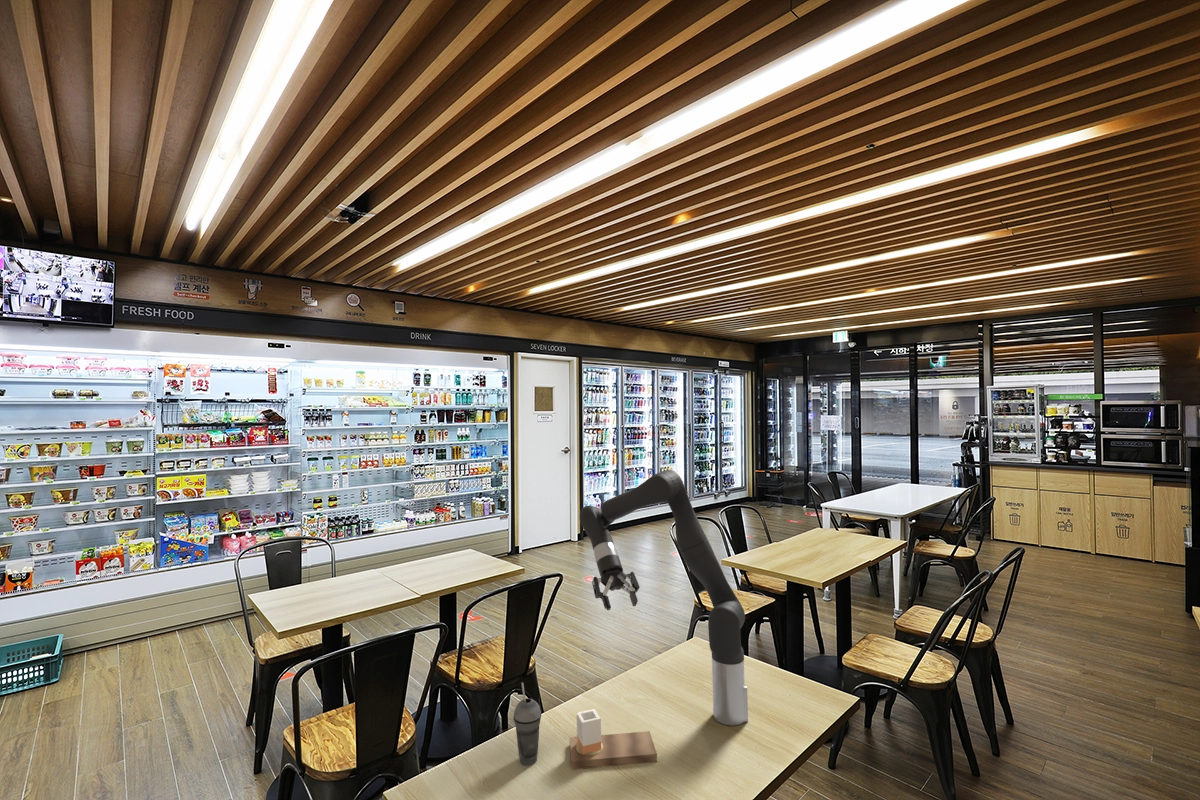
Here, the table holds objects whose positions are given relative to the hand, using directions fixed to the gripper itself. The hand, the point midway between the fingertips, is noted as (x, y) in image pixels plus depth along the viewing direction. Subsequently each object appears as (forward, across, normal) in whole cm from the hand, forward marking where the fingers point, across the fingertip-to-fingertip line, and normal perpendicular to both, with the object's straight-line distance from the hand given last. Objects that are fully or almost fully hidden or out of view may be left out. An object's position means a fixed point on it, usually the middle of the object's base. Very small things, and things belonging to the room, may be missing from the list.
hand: (622, 607), depth 166 cm
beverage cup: (+31, -33, +13) cm, 47 cm away
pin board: (+35, -12, +9) cm, 37 cm away
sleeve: (+32, -17, +8) cm, 37 cm away
